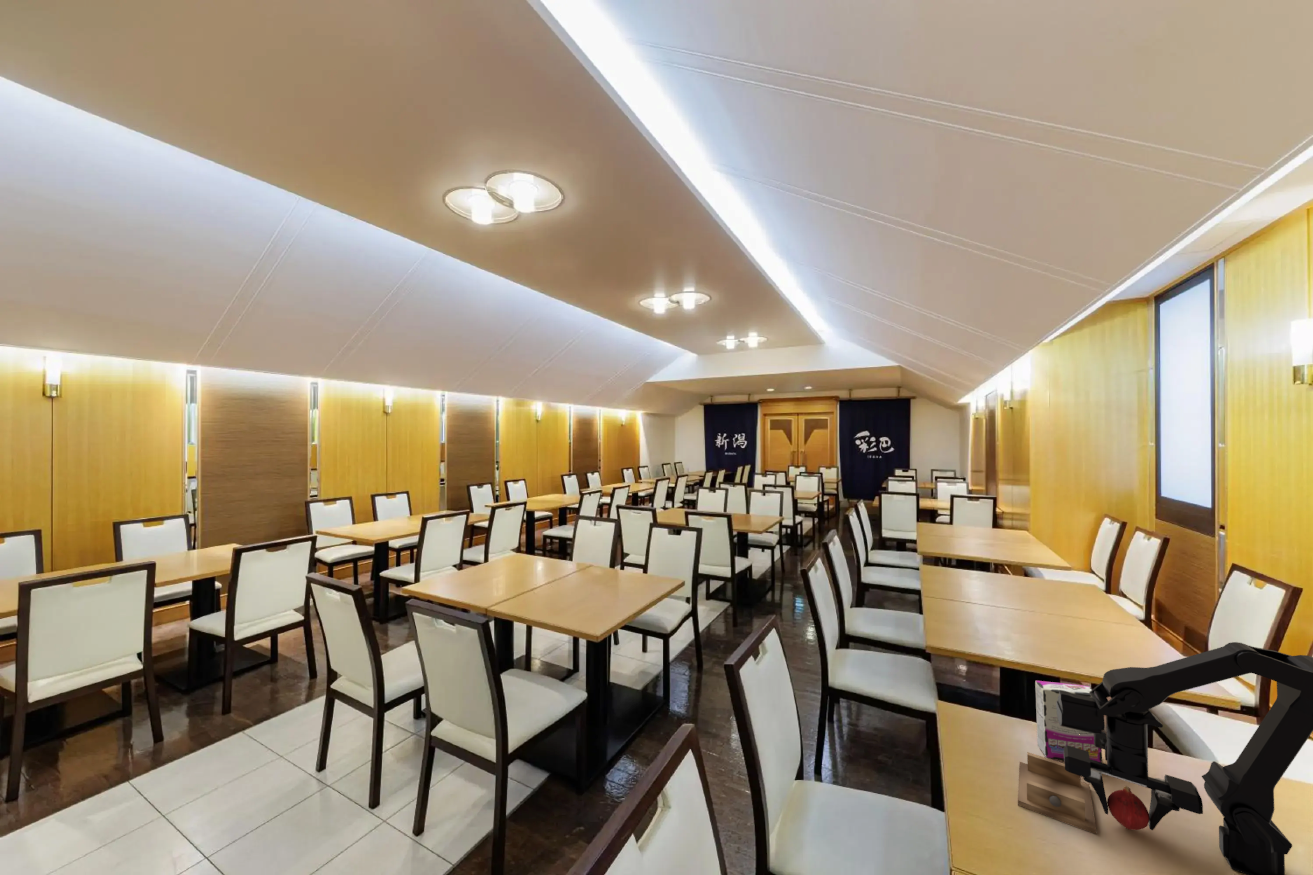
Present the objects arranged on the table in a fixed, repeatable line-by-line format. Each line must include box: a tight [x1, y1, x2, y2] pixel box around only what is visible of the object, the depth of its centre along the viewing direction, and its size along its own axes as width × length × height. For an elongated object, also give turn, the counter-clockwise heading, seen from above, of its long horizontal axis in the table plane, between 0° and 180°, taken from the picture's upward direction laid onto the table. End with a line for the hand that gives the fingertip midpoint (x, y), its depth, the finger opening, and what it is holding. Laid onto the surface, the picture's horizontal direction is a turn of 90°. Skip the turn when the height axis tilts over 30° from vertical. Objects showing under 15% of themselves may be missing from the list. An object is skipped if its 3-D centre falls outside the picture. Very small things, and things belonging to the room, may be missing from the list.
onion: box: [1106, 785, 1150, 831], centre depth 92 cm, size 6×6×8 cm
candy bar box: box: [1034, 680, 1103, 763], centre depth 114 cm, size 11×5×16 cm, turn 73°
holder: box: [1017, 751, 1097, 835], centre depth 101 cm, size 12×15×4 cm
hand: (1128, 820), depth 92 cm, fingers closed on onion, 6 cm apart
